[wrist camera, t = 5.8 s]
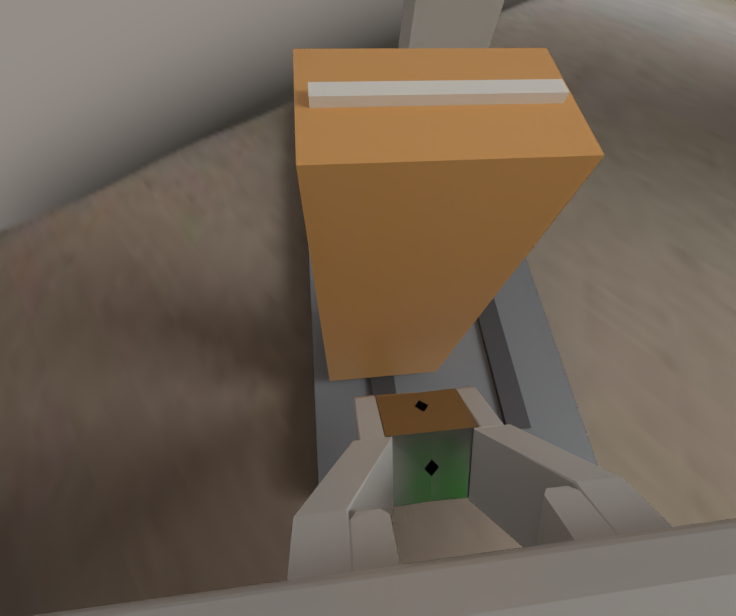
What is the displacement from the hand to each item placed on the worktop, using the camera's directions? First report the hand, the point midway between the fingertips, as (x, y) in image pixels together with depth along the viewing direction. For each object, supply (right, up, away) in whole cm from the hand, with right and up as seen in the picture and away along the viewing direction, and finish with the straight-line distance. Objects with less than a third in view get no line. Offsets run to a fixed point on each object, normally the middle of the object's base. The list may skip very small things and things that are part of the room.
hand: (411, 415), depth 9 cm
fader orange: (-1, +1, +5) cm, 5 cm away
